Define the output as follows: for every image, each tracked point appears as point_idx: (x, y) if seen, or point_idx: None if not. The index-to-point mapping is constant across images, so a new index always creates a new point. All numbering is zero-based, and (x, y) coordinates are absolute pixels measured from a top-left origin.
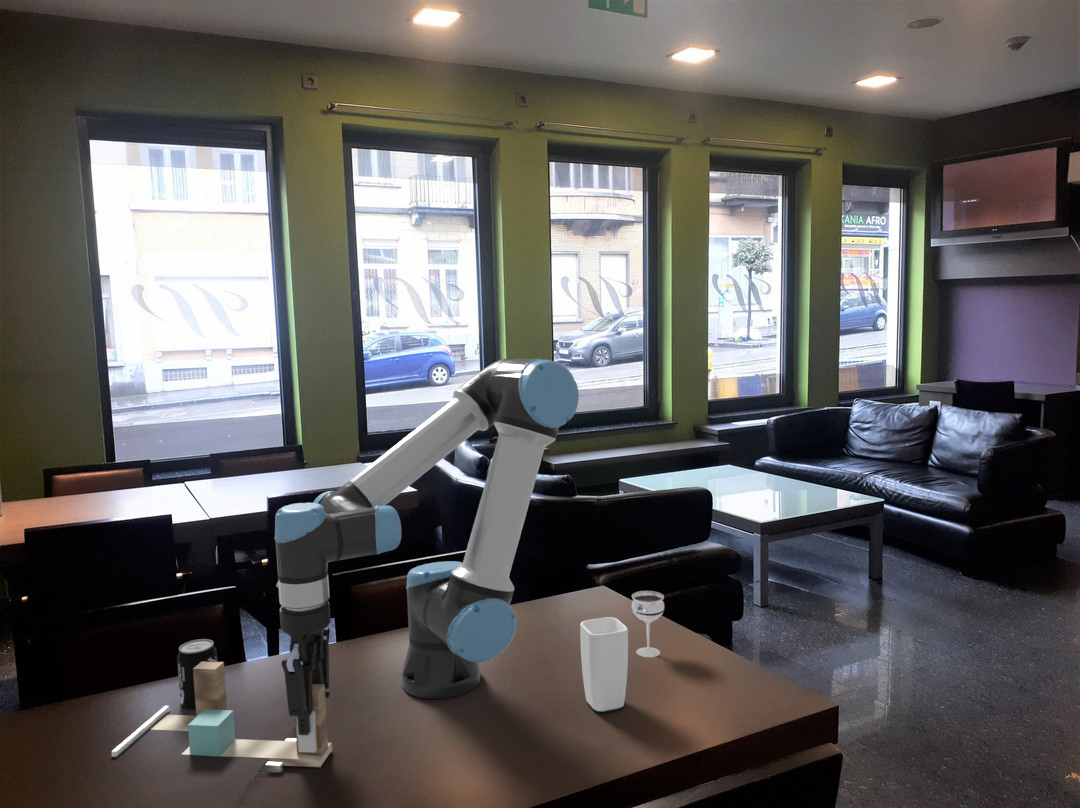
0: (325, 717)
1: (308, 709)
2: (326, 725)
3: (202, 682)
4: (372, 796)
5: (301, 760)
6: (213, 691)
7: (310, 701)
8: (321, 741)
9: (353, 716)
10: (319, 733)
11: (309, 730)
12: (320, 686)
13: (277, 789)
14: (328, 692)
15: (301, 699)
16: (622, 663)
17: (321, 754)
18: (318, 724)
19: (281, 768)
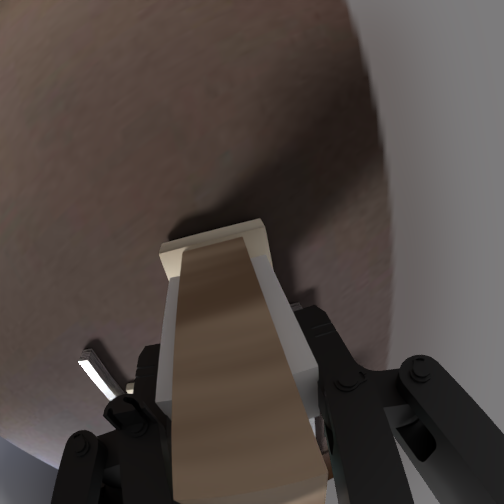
0: (187, 321)
1: (375, 389)
2: (181, 296)
3: None
4: (338, 9)
5: None
6: None
7: (364, 429)
8: (240, 261)
9: (14, 292)
10: (257, 281)
11: (298, 317)
12: (218, 501)
13: (361, 263)
14: (110, 419)
15: (494, 427)
16: None
17: (241, 238)
18: (268, 309)
19: (295, 308)
